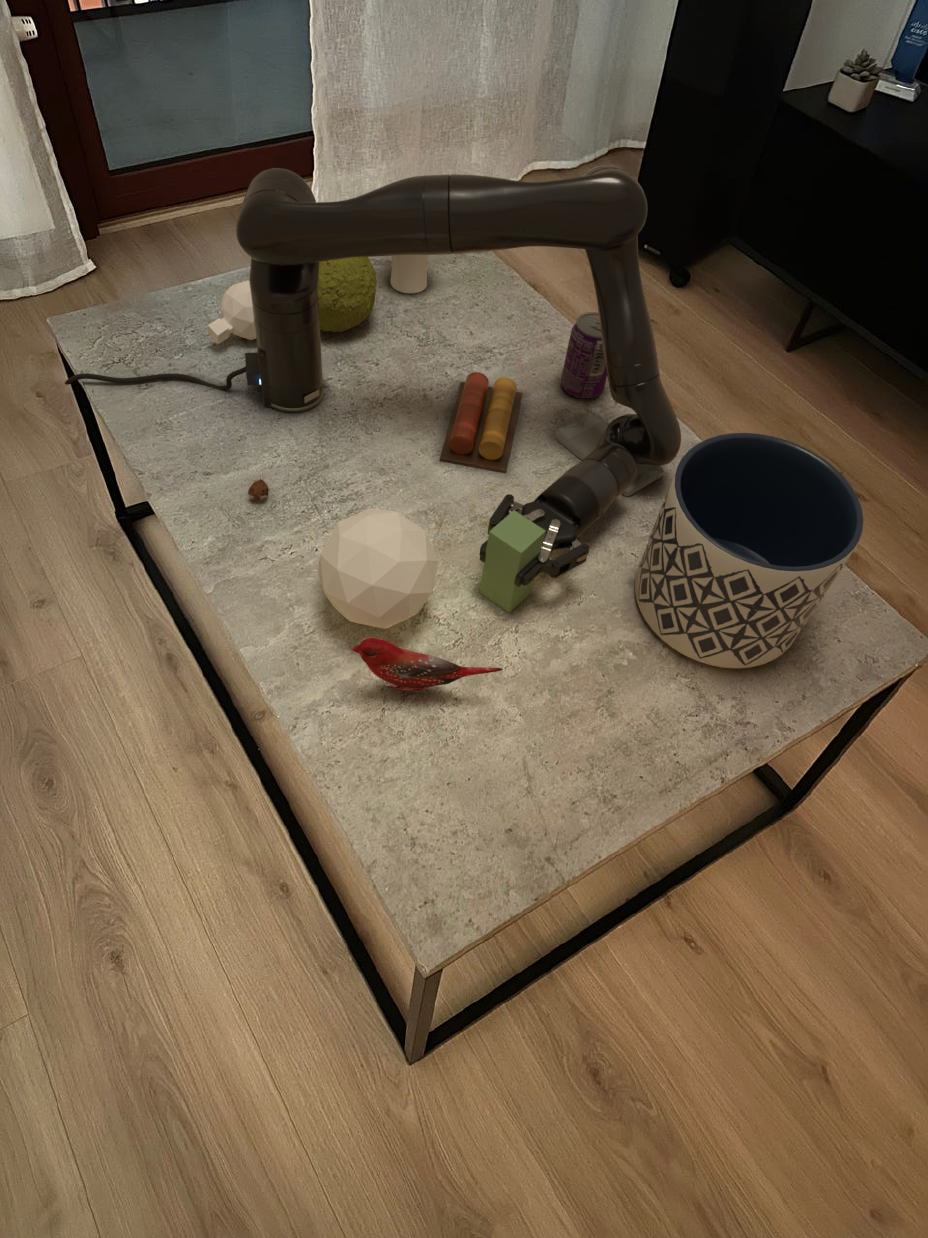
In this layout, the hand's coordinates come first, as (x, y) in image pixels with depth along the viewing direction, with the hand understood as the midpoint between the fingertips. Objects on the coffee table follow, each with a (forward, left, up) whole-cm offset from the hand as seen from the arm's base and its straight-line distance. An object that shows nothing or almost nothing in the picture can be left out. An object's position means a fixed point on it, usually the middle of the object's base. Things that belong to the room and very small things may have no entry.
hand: (499, 569), depth 112 cm
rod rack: (+5, +34, -7) cm, 35 cm away
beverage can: (+23, +42, -7) cm, 48 cm away
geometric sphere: (-15, +2, -7) cm, 17 cm away
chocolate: (-29, +22, -7) cm, 37 cm away
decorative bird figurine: (-11, -12, -7) cm, 18 cm away
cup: (-1, +72, -7) cm, 72 cm away
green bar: (+2, +2, -7) cm, 7 cm away
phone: (+23, +26, -7) cm, 35 cm away
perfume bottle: (-30, +59, -7) cm, 66 cm away
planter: (+30, -3, -7) cm, 31 cm away
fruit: (-15, +63, -7) cm, 65 cm away
